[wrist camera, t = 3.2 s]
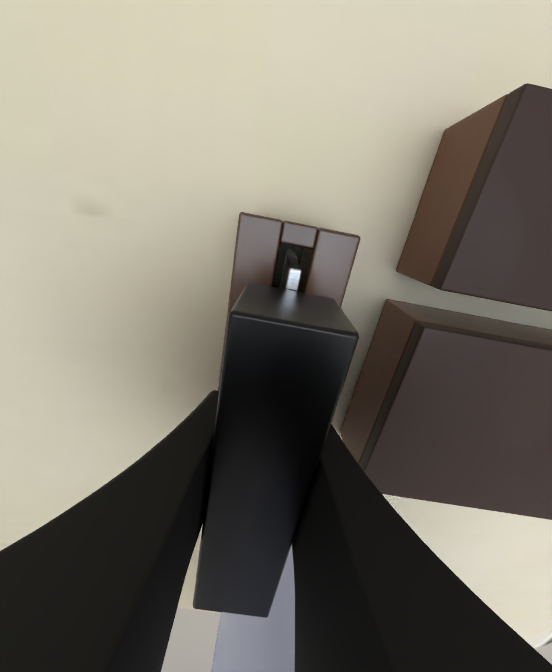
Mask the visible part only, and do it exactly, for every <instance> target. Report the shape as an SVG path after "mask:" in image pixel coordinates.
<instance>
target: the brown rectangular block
mask: <svg viewBox="0 0 552 672" xmlns="http://www.w3.org/2000/svg"><path fill="white" fill-rule="evenodd" d="M397 272H399V273H402V274H404V275H406V276H409V277H411V278H413V279H416V280H418V281H420V282H423V283H425V284H428V285H430V286H433V287H435V288H437V289H440V290H444V291H449V292H454V293H459V294H465V295H470V296H475V297H480V298H485V299H491V300H496V301H501V302H506V303H511V304H517V305H522V306H527V307H532V308H537V309H543V310H548V311H552V89H550V88H545V87H541V86H537V85H532V84H524V85H523V86H521V87H519V88H517V89H516V90H514V91H512V92H510V93H509V94H507V95H505V96H503V97H501V98H499V99H498V100H496V101H494V102H492V103H491V104H489V105H487V106H485V107H484V108H482V109H480V110H479V111H477V112H475V113H473V114H472V115H470V116H468V117H466V118H465V119H463V120H461V121H459V122H458V123H456V124H454V125H452V126H451V127H449V128H447V129H446V130H445V132H444V135H443V138H442V141H441V143H440V146H439V149H438V152H437V155H436V158H435V161H434V164H433V166H432V169H431V172H430V175H429V178H428V181H427V184H426V187H425V190H424V192H423V195H422V198H421V201H420V204H419V207H418V210H417V213H416V215H415V218H414V221H413V224H412V227H411V230H410V233H409V236H408V239H407V241H406V244H405V247H404V250H403V253H402V256H401V259H400V262H399V264H398V267H397Z"/></svg>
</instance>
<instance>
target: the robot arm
mask: <svg viewBox="0 0 552 672" xmlns="http://www.w3.org/2000/svg"><path fill="white" fill-rule="evenodd" d="M218 397H219V391H216V390H214V391H212V392H210V393H209V395H208V396H207V397H206V398H205V399H204V400H203V401H202V402H201V403H200V405H199V406H198V407H197V408H196V409H195V410H194V411H193V412H192V413H191V414H190V415H189V416H188V417H187V418H186V419H185V420H184V421H182V422H181V423H180V424H179V425H178V426H177V427H176V428H175V429H174V430H173V431H172V432H171V433H170V434H168V435H167V436H166V437H165V438H164V439H163V440H161V441H160V442H159V443H158V444H157V445H156V446H154V447H153V448H152V449H151V450H150V451H148V452H147V453H146V454H145V455H144V456H142V457H141V458H140V459H139V460H137V461H136V462H135V463H134V464H132V465H131V466H130V467H128V468H127V469H126V470H124V471H123V472H122V473H120V474H119V475H118V476H116V477H115V478H114V479H112V480H111V481H109V482H108V483H107V484H105V485H104V486H102V487H101V488H100V489H98V490H97V491H95V492H94V493H92V494H91V495H89V496H88V497H86V498H85V499H83V500H82V501H80V502H79V503H77V504H76V505H74V506H73V507H71V508H70V509H68V510H67V511H65V512H64V513H62V514H61V515H59V516H58V517H56V518H54V519H53V520H51V521H50V522H48V523H47V524H45V525H43V526H42V527H40V528H39V529H37V530H35V531H34V532H32V533H30V534H29V535H27V536H25V537H23V538H22V539H20V540H18V541H17V542H15V543H13V544H12V545H10V546H8V547H6V548H5V549H3V550H1V551H0V672H161V669H162V664H163V661H164V657H165V653H166V649H167V645H168V641H169V637H170V633H171V629H172V626H173V622H174V618H175V614H176V610H177V606H178V602H179V599H180V595H181V591H182V587H183V583H184V579H185V576H186V573H187V569H188V566H189V563H190V559H191V556H192V553H193V550H194V547H195V545H196V542H197V539H198V536H199V533H200V530H201V527H202V524H203V519H204V511H205V503H206V495H207V487H208V478H209V470H210V462H211V454H212V446H213V438H214V430H215V421H216V413H217V405H218ZM211 672H552V665H551V664H550V663H549V662H548V661H547V660H546V659H545V658H543V656H542V655H540V654H539V653H538V652H537V651H536V650H535V649H534V648H533V647H532V646H530V645H529V644H528V643H527V642H526V641H525V640H524V639H523V638H522V637H521V636H519V635H518V634H517V633H516V632H515V631H514V630H513V629H512V628H511V627H510V626H508V625H507V624H506V623H505V622H504V621H503V620H502V619H501V618H500V617H499V616H498V615H497V614H496V613H494V612H493V611H492V610H491V609H490V608H489V607H488V606H487V605H486V604H485V603H484V602H483V601H482V600H481V599H480V598H479V597H478V596H476V595H475V594H474V593H473V592H472V591H471V590H470V589H469V588H468V587H467V586H466V585H465V584H464V583H463V582H462V581H461V580H460V579H459V578H458V577H457V576H456V575H455V574H454V573H453V572H452V571H451V570H450V569H449V568H448V567H447V566H446V565H445V564H444V563H443V562H442V561H441V560H440V559H439V558H438V557H437V556H436V555H435V553H434V552H433V551H432V550H431V549H430V548H429V547H428V546H427V545H426V544H425V543H424V542H423V541H422V540H421V539H420V538H419V537H418V535H417V534H416V533H415V532H414V531H413V530H412V529H411V528H410V526H409V525H408V524H407V523H406V522H405V521H404V520H403V519H402V517H401V516H400V515H399V514H398V513H397V512H396V511H395V510H394V508H393V507H392V506H391V505H390V504H389V502H388V501H387V500H386V499H385V498H384V496H383V495H382V494H381V493H380V491H379V490H378V489H377V488H376V486H375V485H374V484H373V483H372V481H371V480H370V479H369V477H368V476H367V475H366V474H365V472H364V471H363V470H362V468H361V467H360V465H359V464H358V463H357V461H356V460H355V458H354V457H353V456H352V454H351V453H350V451H349V450H348V448H347V447H346V446H345V444H344V443H343V441H342V440H341V438H340V437H339V435H338V434H337V432H336V431H335V429H334V427H333V426H332V424H331V425H330V428H329V431H328V434H327V437H326V440H325V443H324V446H323V449H322V452H321V456H320V459H319V462H318V465H317V468H316V471H315V474H314V477H313V480H312V483H311V486H310V489H309V492H308V495H307V499H306V502H305V505H304V508H303V511H302V514H301V517H300V520H299V523H298V526H297V529H296V532H295V535H294V539H293V542H292V545H291V548H290V551H289V554H288V557H287V560H286V563H285V566H284V569H283V572H282V575H281V579H280V582H279V585H278V588H277V591H276V594H275V597H274V600H273V603H272V606H271V609H270V612H269V615H268V617H266V618H264V617H256V616H248V615H240V614H233V613H225V612H221V613H220V620H219V626H218V633H217V638H216V645H215V651H214V658H213V664H212V670H211Z"/></svg>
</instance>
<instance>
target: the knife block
mask: <svg viewBox="0 0 552 672" xmlns="http://www.w3.org/2000/svg"><path fill="white" fill-rule="evenodd" d="M280 242H281V243H284V244H289V245H294V246H299V247H304V248H303V253H302V258H301V263H300V268H301V271H302V272H301V277H300V281H299V286H298V291H297V292H302V293H308V294H313V295H318V296H324V297H329V298H333V299H335V300H336V302H337V303H338V305H339V306H340V308H341V305H342V301H343V298H344V294H345V291H346V287H347V284H348V280H349V277H350V273H351V270H352V266H353V263H354V259H355V256H356V252H357V249H358V245H359V242H360V236H358V235H354V234H349V233H344V232H339V231H334V230H329V229H324V228H317V227H314V226H309V225H304V224H299V223H294V222H289V221H284V222H283V221H282V220H279V219H274V218H269V217H264V216H259V215H254V214H249V213H244V212H241V213H240V214H239V221H238V229H237V237H236V245H235V254H234V262H233V270H232V279H231V287H230V295H229V303H228V312H227V320H226V328H225V337H224V345H223V353H222V361H221V370H220V378H219V386H218V391H219V389H220V381H221V373H222V364H223V356H224V348H225V340H226V332H227V324H228V316H229V313H230V311H231V309H232V308H233V306H234V304H235V303H236V301H237V299H238V298H239V296H240V294H241V293H242V291H243V289H244V288H245V286H246V284H247V283H254V284H260V285H265V286H270V287H272V283H273V277H274V272H275V266H276V260H277V255H278V249H279V244H280Z"/></svg>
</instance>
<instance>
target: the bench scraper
mask: <svg viewBox="0 0 552 672" xmlns="http://www.w3.org/2000/svg"><path fill="white" fill-rule="evenodd" d="M301 272H302V271H301V268H300V265H299V263H298V260H297V258H296V255H295V253H294V250H289V249H287V251H286V256H285V261H284V267H283V272H282V277H281V282H280V288H276V287H270V286H265V285H260V284H254V283H247V284H246V286H245V288H244V289H243V291H242V293H241V294H240V296H239V298H238V299H237V301H236V303H235V304H234V306H233V308H232V309H231V311H230V313H229V316H228V324H227V332H226V340H225V348H224V356H223V364H222V373H221V381H220V389H219V397H218V405H217V413H216V421H215V430H214V438H213V446H212V454H211V462H210V470H209V478H208V487H207V495H206V503H205V511H204V519H203V527H202V535H201V543H200V552H199V560H198V568H197V576H196V584H195V592H194V600H193V607H194V608H195V609H202V610H210V611H217V612H225V613H233V614H240V615H248V616H256V617H264V618H266V617H268V615H269V612H270V609H271V606H272V603H273V600H274V597H275V594H276V591H277V588H278V585H279V582H280V579H281V575H282V572H283V569H284V566H285V563H286V560H287V557H288V554H289V551H290V548H291V545H292V542H293V539H294V535H295V532H296V529H297V526H298V523H299V520H300V517H301V514H302V511H303V508H304V505H305V502H306V499H307V495H308V492H309V489H310V486H311V483H312V480H313V477H314V474H315V471H316V468H317V465H318V462H319V459H320V456H321V452H322V449H323V446H324V443H325V440H326V437H327V434H328V431H329V428H330V425H331V422H332V419H333V416H334V412H335V409H336V406H337V403H338V400H339V397H340V394H341V391H342V388H343V385H344V382H345V379H346V376H347V372H348V369H349V366H350V363H351V360H352V357H353V354H354V351H355V348H356V345H357V342H358V339H359V335H358V333H357V331H356V330H355V328H354V327H353V325H352V324H351V322H350V321H349V319H348V318H347V316H346V315H345V314H344V312H343V311H342V309H341V308H340V306H339V305H338V303H337V302H336V300H335V299H333V298H329V297H324V296H318V295H313V294H308V293H302V292H297V291H298V286H299V281H300V277H301Z"/></svg>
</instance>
